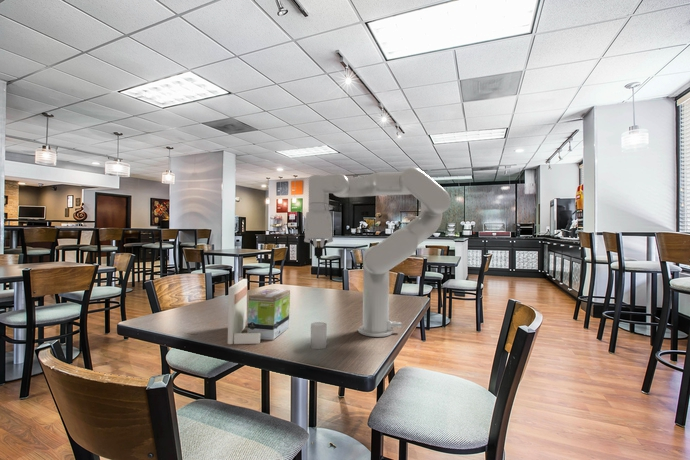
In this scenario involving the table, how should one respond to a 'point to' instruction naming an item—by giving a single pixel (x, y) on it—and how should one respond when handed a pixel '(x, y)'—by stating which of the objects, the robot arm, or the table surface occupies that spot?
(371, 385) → the table surface
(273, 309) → the tea box
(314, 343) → the white cylinder
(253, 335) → the display stand
